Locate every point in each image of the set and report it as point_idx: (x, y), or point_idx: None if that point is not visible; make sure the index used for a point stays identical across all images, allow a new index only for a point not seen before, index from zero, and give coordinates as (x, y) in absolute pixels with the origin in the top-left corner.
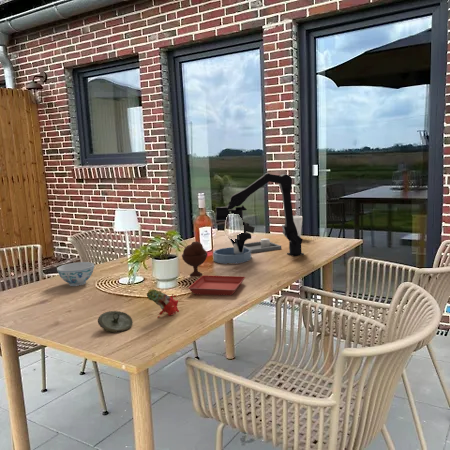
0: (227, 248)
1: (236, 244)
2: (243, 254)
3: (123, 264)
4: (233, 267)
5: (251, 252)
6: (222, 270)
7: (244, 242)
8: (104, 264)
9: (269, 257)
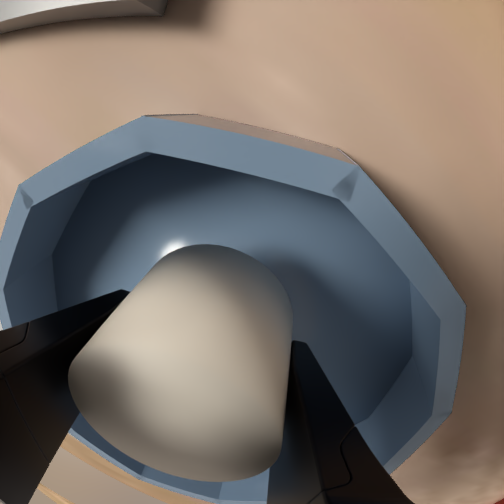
0: (12, 314)
1: (196, 466)
2: (444, 414)
3: (62, 497)
4: (433, 451)
5: (144, 10)
6: (409, 490)
7: (399, 489)
8: (49, 496)
9: (493, 13)
